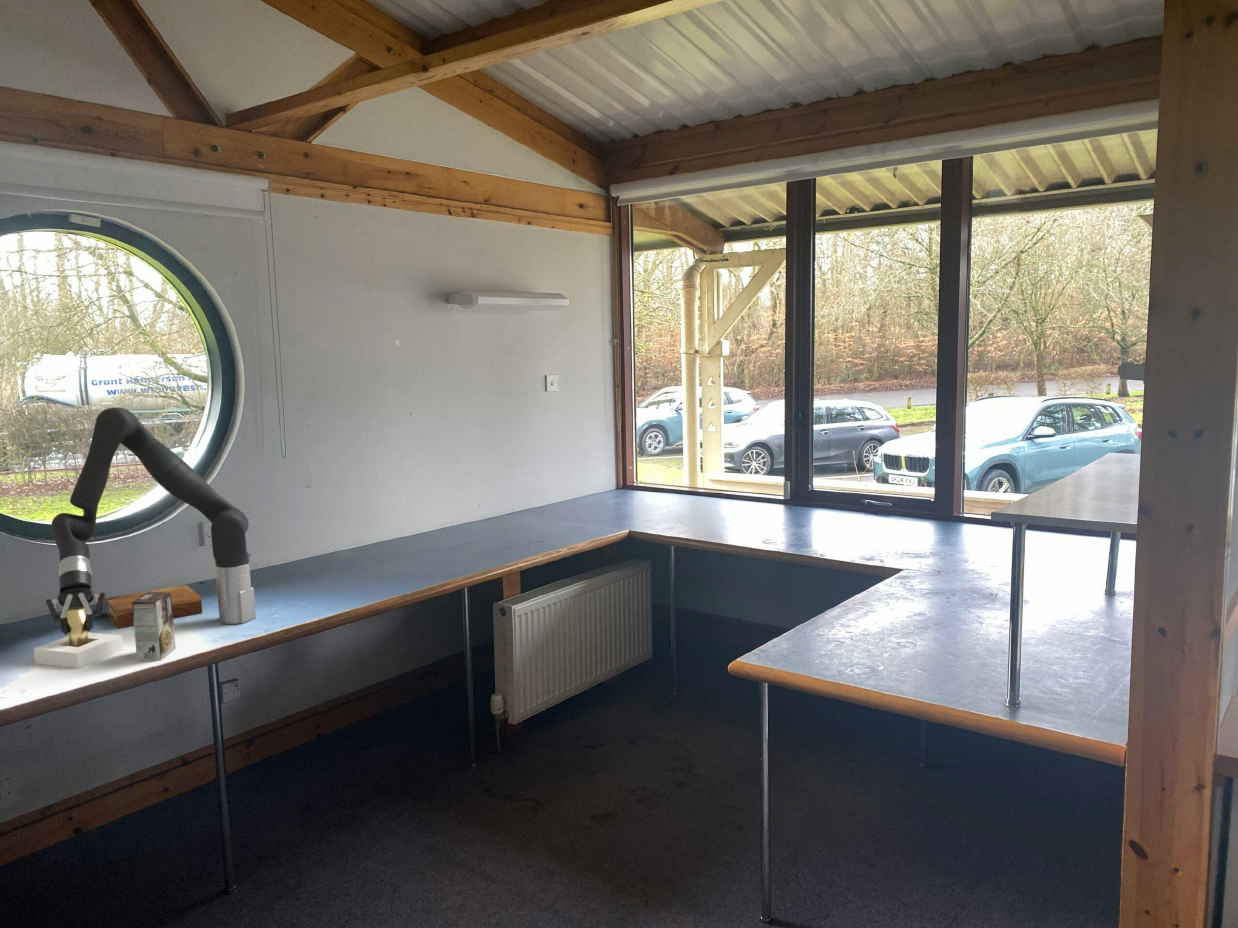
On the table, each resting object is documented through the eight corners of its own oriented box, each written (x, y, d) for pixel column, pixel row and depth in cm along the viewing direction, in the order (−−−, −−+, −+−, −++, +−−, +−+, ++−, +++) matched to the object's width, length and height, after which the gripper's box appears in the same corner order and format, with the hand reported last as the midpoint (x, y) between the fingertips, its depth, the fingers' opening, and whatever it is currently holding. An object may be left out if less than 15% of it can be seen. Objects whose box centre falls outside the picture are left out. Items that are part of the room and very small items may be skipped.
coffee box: (151, 649, 235) (147, 591, 233) (176, 648, 235) (171, 591, 233) (135, 661, 226) (130, 601, 224) (161, 660, 226) (156, 600, 224)
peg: (93, 647, 231) (89, 607, 230) (78, 653, 227) (75, 612, 225) (79, 646, 232) (76, 606, 231) (65, 651, 228) (61, 611, 226)
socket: (122, 649, 234) (121, 635, 234) (78, 668, 221) (77, 653, 221) (81, 645, 238) (80, 631, 238) (35, 663, 225) (34, 648, 224)
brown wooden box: (117, 631, 252) (116, 612, 252) (107, 616, 267) (105, 598, 266) (202, 614, 267) (201, 596, 266) (187, 601, 281) (186, 584, 280)
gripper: (42, 572, 230) (43, 629, 221) (104, 565, 237) (107, 620, 228) (45, 587, 235) (46, 642, 226) (106, 579, 242) (109, 633, 233)
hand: (77, 631), depth 227 cm, fingers closed on peg, 4 cm apart
